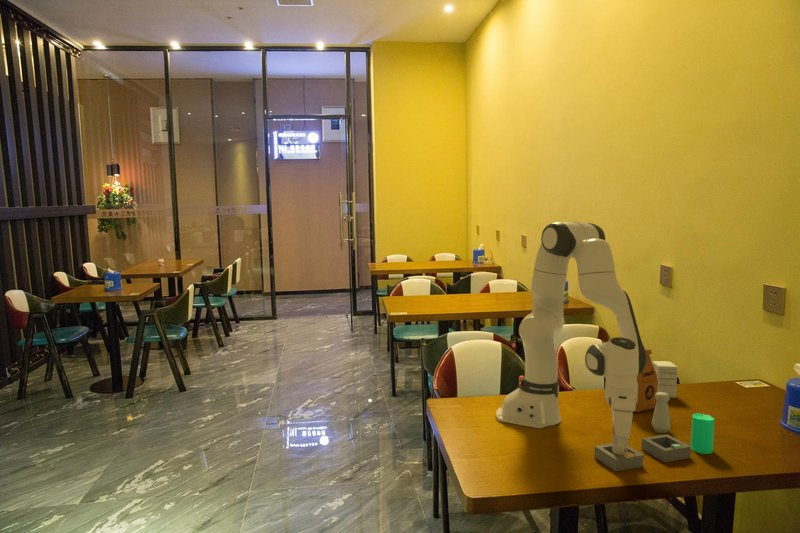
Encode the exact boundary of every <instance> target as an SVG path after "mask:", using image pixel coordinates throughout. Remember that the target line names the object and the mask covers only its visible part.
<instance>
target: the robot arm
mask: <svg viewBox="0 0 800 533" xmlns="http://www.w3.org/2000/svg"><path fill="white" fill-rule="evenodd" d="M605 234H606V233H605V232H604V229H603V228H602V227H600V226H599V225H598V224H595V223H591V222H587V223H586V222H582V221H564V222H562V221H556V222H551V223H550V224H547V225H546V226H545V227H544V228H543V230H542V233H541V239H540V240H541V243H540V245H539V247H538V250H537V254H536V257H535V261H534V266H533V274H532V280H531V287H530V293H531V296H532V310H531V312H530V313H529V314H526V316H524V318H523V319H522V321H521V322H520V324H519V326H518V327H519V328H518V334H519V337H520V339H521V340H522V345H523V351H524V359H525V360H524V362H525V363H524V375H519V377H518V388H516V389H515V390H513V391H512V392H510V393H509V394H507V395H506V396H505V397H504V400H503V402H502V406H500V407H499V408H497V410H496V412H495V417H496V420H498V421H499V422H503V423H508V424H513V425H519V426H525V427H529V428H530V427H531V428H537V429H542V428H545V427H550V426H551V427H552V426H555V425H558V424H559V423H561V422H562V417H561V413H560V408H559V399H558V397H559V394H560V383H559V380H558V366H559V358H558V355H557V353H556V348H555V337H556V336H557V335H558V334H560V332H562V330H563V327H564V324H565V318H564V310H565V309H564V308H565V305H564V300H565V299H564V298H565V297H564V296H565V290H566V289H565V287H566V282H567V276H568V275H567V274H568V268H569V262H570V260H571V258H574V260H575V261H576V267H577V278H578V280H577V281H578V288H579V291H580V293H581V295H582V296H583V297H584V298H585V299H587V300H588V301H589V302H591V303H593V304H596V305H599V306H601V307H604V308H607V309H608V310H610V311H611V312H612V313H613V314H614V316H615V318H616V321H617V326H618V330H619V334H620V336H621V337H620V336H619V337H613V338H610V339H609V340H608V341H606V342H602V343H601V342H600V343H595V344H591V345H590V346H589V347H588V348H587V350H586V353H585V355H584V359H585V360H584V362H585V366H586V368H587V369H588V371H589V372H590V373H592V374H593V375H596V376H597V377H605V382H604V399H605V401H606V402H607V403H608V405H609V407H610V409H611V416H612V418H613V417H614V429H615V435H616V437H617V447H618V448H624V442H625V438H628V439H629V438H630V436H631V429H632V423H633V417H634V416H633V415H634V411H635V408H636V403H637V396H638V383H637V375H638V374H640V373H641V372H642V371H643V370H644V368H645V367H646V365H647V362H648V356H647V353H646V350H647V349H646V348H645V346H644V344H643V341H642V338H641V334H640V331H639V327H638V324H637V320H636V316H635V312H634V308H633V304H632V302H631V299H630V297H629V294H628V293H627V292H626V290H624V289H622V287H621V286H620V284H619V281H618V278H617V273H616V266H615V261H614V256H613V253H612V252H613V251H612V250H611V246H610V244H609V242H608V241H606V235H605Z"/></svg>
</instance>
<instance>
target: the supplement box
mask: <svg viewBox="0 0 800 533" xmlns="http://www.w3.org/2000/svg"><path fill="white" fill-rule="evenodd" d="M651 362H652V364H653V366H654V368H655V371H656V374H657V379H658V387H657V392H665V393H667V394H668V395H669V397H670V398H669V399H671V398H673V399H674V398H675V399H676V398H677V385H678V366H677V365H675V364H674V363H673V362H672V361H667V360H666V361H664V360H663V361H662V360H660V361H659V360H651Z"/></svg>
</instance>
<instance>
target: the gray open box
mask: <svg viewBox="0 0 800 533" xmlns="http://www.w3.org/2000/svg"><path fill="white" fill-rule="evenodd" d="M644 457H645V455H644V454H643V453H641V452H640V451H637V449H634V448H633V447H631V446H629V445H628V452H627V453H623V456H619V457H617V456H615V455H613V454H612V443H607V444H601V445H594V458H595V459H596V460H598V461H599V462H601V463H602V464H603V465H605V466H607V467H608V468H610V469H612V470H613V471H614V472H621V471H626V470H633V469H637V468H644V460H645V459H644Z"/></svg>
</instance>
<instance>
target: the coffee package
mask: <svg viewBox="0 0 800 533" xmlns="http://www.w3.org/2000/svg"><path fill="white" fill-rule="evenodd" d="M645 350H646V353H647V356H648V362H647V365H646V367H645V368H644V370H643V371H642V372H641V373H640V374H638V375H637V383H638V396H637V403H636V408H635V411H633V413H634V412H635V413H638V412H643V411H650V410H653V409H655V407H656V403H657V400H656V399H655V394H656V393H657V387H658V379H657V374H656V371H655V368H654V366H653V364H652V358H651V356H650V355H652V353H653V352H652V349H650V348H649V349H645Z"/></svg>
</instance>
